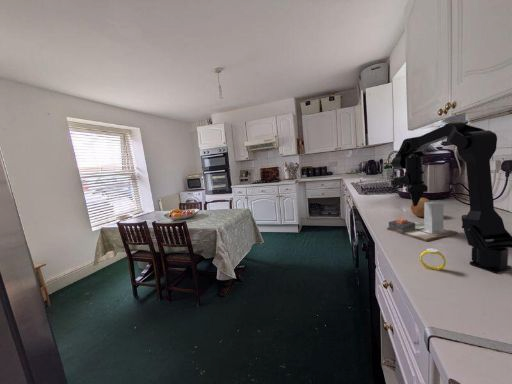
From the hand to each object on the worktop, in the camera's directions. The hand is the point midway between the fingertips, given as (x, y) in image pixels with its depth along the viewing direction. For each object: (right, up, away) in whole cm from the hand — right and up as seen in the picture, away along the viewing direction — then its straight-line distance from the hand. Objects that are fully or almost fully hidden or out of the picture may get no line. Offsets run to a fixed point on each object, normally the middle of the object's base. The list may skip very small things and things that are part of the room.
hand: (415, 206), depth 93 cm
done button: (-1, -9, +7) cm, 12 cm away
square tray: (+5, -11, +4) cm, 13 cm away
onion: (+21, -7, +23) cm, 32 cm away
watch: (-13, -18, -25) cm, 34 cm away
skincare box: (+8, -11, +1) cm, 14 cm away
